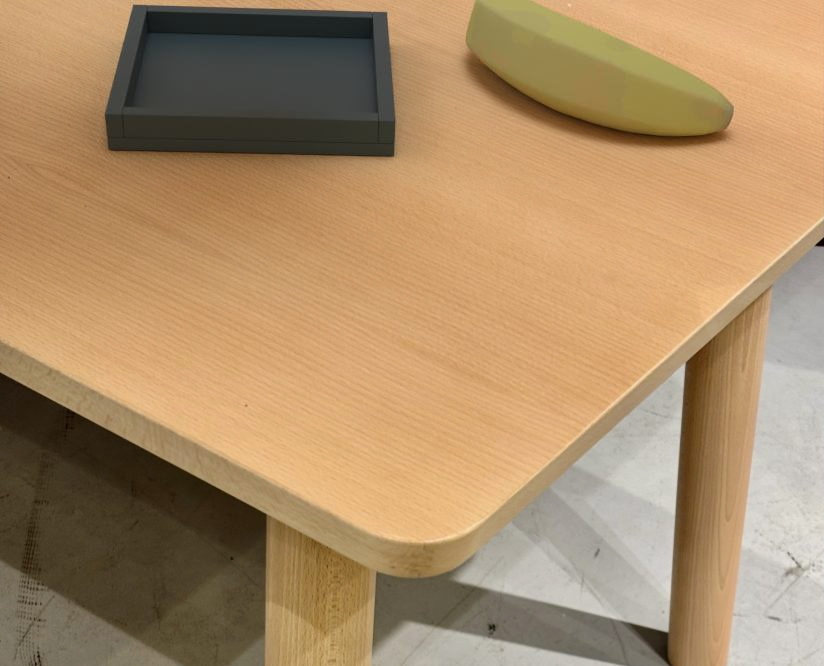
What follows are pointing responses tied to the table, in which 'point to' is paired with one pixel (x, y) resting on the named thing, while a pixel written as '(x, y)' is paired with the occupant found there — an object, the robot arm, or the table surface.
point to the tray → (253, 82)
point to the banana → (591, 72)
